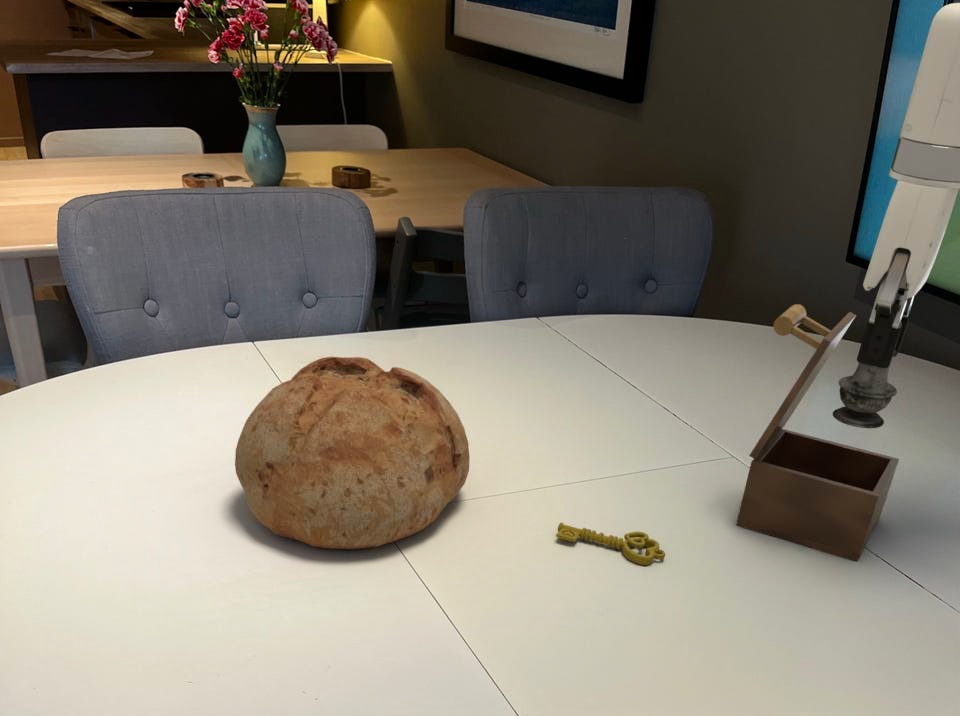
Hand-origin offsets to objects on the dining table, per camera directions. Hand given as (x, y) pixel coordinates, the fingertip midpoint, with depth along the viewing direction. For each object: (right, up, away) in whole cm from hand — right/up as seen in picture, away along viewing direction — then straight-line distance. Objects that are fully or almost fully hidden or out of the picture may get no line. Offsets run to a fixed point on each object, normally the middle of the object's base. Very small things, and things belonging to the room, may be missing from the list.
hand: (877, 357), depth 101 cm
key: (-27, -19, +5) cm, 33 cm away
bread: (-55, -14, +9) cm, 57 cm away
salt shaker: (-1, -6, +4) cm, 7 cm away
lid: (-6, -2, +5) cm, 8 cm away
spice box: (-3, -16, +12) cm, 20 cm away
